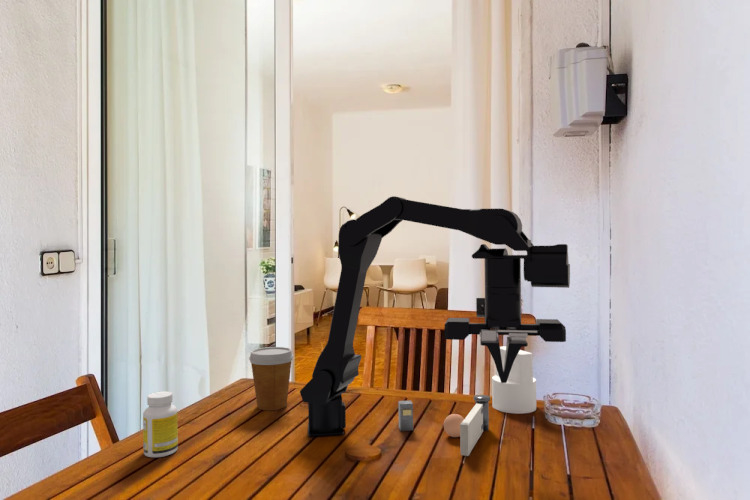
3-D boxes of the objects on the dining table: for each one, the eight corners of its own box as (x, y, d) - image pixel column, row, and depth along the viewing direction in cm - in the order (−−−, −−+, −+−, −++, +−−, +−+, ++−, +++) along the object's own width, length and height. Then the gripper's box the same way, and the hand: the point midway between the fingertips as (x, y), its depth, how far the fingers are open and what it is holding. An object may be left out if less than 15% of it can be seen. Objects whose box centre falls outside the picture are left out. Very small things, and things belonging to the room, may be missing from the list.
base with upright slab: (483, 403, 115) (483, 348, 115) (517, 398, 118) (517, 344, 118) (510, 416, 106) (509, 356, 106) (545, 409, 110) (545, 352, 110)
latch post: (400, 431, 98) (400, 404, 98) (398, 427, 101) (398, 401, 101) (413, 431, 98) (413, 404, 98) (411, 426, 101) (410, 400, 101)
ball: (447, 441, 93) (446, 418, 93) (441, 433, 97) (441, 411, 97) (469, 439, 94) (468, 417, 94) (462, 432, 98) (462, 410, 98)
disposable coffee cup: (258, 399, 120) (258, 346, 120) (299, 400, 119) (298, 346, 119) (242, 412, 111) (241, 355, 111) (286, 413, 110) (285, 355, 110)
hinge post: (476, 432, 97) (476, 399, 97) (471, 426, 100) (471, 395, 100) (492, 431, 98) (492, 398, 98) (487, 425, 101) (486, 394, 101)
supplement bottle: (184, 448, 92) (183, 391, 92) (162, 460, 87) (161, 400, 87) (159, 444, 94) (158, 389, 93) (136, 456, 88) (135, 397, 88)
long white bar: (476, 430, 97) (476, 403, 97) (483, 431, 97) (483, 404, 97) (460, 454, 86) (460, 424, 86) (468, 456, 86) (468, 425, 86)
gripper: (555, 282, 92) (556, 372, 93) (447, 282, 96) (448, 368, 96) (566, 288, 81) (566, 389, 82) (443, 288, 85) (444, 385, 85)
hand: (503, 382), depth 87 cm, fingers closed
